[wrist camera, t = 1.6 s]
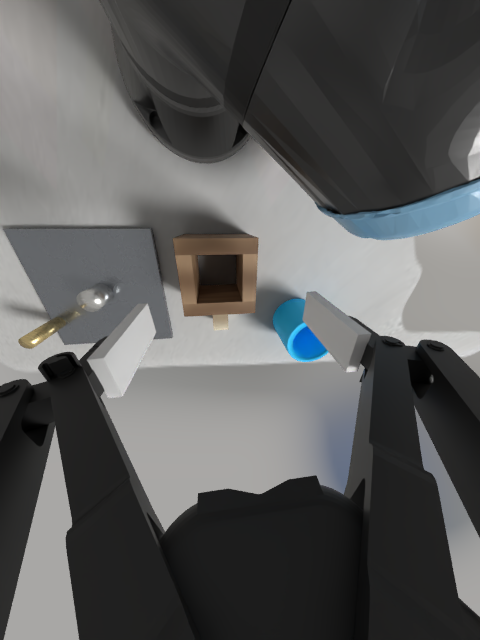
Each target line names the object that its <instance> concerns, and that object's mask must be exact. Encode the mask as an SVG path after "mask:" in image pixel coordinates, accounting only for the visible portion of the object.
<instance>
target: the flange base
mask: <svg viewBox="0 0 480 640" xmlns="http://www.w3.org/2000/svg"><path fill="white" fill-rule="evenodd" d="M3 230H4V231H5V233H6V235H7V237H8V239H9V241H10V243H11V245H12V246H13V248H14V250H15V252H16V254H17V256H18V258H19V260H20V262H21V263H22V265H23V267H24V269H25V271H26V273H27V275H28V277H29V279H30V280H31V282H32V284H33V286H34V288H35V290H36V292H37V294H38V296H39V297H40V299H41V301H42V303H43V305H44V307H45V309H46V311H47V313H48V314H49V316H50V318H51V320H52V319H53V318H55V317H60V318H62V319H64V320H65V322H66V325H65V326H64V327H63V328H61V329H60V330H58V333H59V335H60V337H61V339H62V341H63V343H64V345H68V344H84V343H97V341H99V340H101V339H102V338H104V337H105V336H109V335H110V334H111V333H112V332H113V330H114V329H115V328H116V327H117V326H118V325H119V324H120V323H121V322H122V321H123V320H124V318H125V317H126V316H127V315H128V314H129V313H130V312H131V311H132V310H133V309H134V307H135V306H136V305H137V304H144V303H148V306H149V309H150V313H151V316H152V319H153V323H154V326H155V330H156V334H155V336H154V338H153V339H164V338H172V337H173V334H172V329H171V323H170V318H169V313H168V308H167V303H166V298H165V293H164V288H163V283H162V277H161V272H160V267H159V262H158V257H157V252H156V247H155V242H154V236H153V231H152V229H3Z"/></svg>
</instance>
